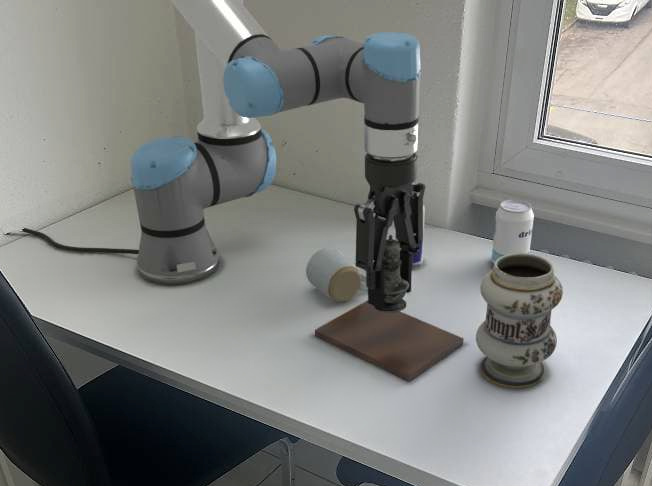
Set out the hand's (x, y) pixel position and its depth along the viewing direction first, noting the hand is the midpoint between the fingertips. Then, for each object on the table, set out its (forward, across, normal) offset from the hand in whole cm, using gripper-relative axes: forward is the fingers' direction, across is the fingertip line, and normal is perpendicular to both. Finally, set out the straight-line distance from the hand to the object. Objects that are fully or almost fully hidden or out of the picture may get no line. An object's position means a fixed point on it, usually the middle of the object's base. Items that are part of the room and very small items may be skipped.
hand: (389, 297), depth 126 cm
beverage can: (+8, +36, 0) cm, 37 cm away
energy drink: (+8, +24, +15) cm, 30 cm away
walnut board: (+8, 0, 0) cm, 8 cm away
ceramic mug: (+8, +7, +17) cm, 20 cm away
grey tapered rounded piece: (+2, 0, 0) cm, 2 cm away
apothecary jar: (+8, +6, -20) cm, 22 cm away
